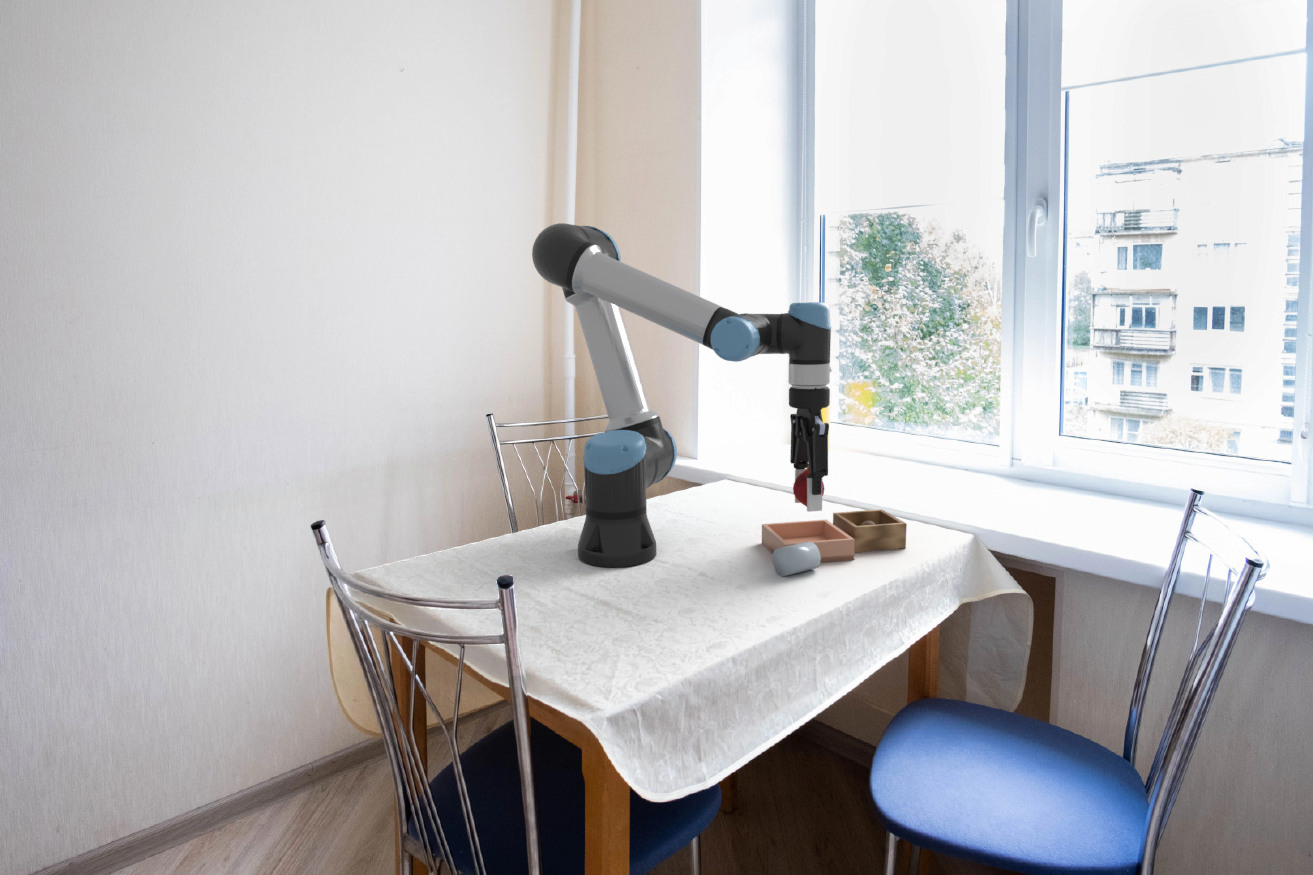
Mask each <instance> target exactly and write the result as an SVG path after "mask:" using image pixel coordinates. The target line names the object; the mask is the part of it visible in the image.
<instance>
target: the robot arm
mask: <svg viewBox="0 0 1313 875" xmlns="http://www.w3.org/2000/svg"><path fill="white" fill-rule="evenodd" d="M531 249H532V250H531V251H532V252H531V255H532V263H533V266H534V268H535V270H536V271H537V273H538V274H539V275H540V276H541V277H542V279H543V280H545V281H546V282H548V283H551V284H552V285H555V286H557V287H561V289H562V292H563V295H564V299H565V301H566V302H567V303H569V304H571V305H572V306H574V307H575V311H576V313H577V316H578V320H579V324H580V326H581V329H582V333H583V336H584V339H585V344H586V345H587V346H586V347H587V350H588V353H589V357H590V360H591V363H592V366H593V367H592V368H593V370H594V372H595V376H596V379H597V383H598V387H599V390H600V393H601V394H600V395H601V397H602V400H603V403H604V407H605V411H606V414H607V417H608V422H607V424H606V426H605V428H604V432H599V433H595V434H594V435H592V436H591V437H589V438H588V439H587V440H586V442H585V443H584V446H583V447H584V448H583V449H584V450H583V451H584V452H583V458H582V462H583V470H584V471H583V473H584V496H585V520H584V523H583V527H582V530H581V533H580V537H579V540H578V544H577V557H578V559H579V561H581V562H583V563H585V564H587V565H591V566H595V565H596V567H601V568H603V567H604V568H622V567H623V568H624V567H632V566H637V565H642V564H645V563H647V562H650V561H651V560H653V559H655V557H656V556H657V541H656V538H655V536H654V532H653V530H652V527H651V524H650V521H649V519H648V515H647V489H648V488H650V487H651V486H652V485H653V486H654V485H655V484H658V483H659V482H660V481H663V480H664V479H665V478H666V477H667V476H668V475H669V473H670V472H671V471H672V469H673V468H674V466H675V464H676V462H677V455H678V451H677V443H676V441H675V439H674V437H673V435H672V433H670V432H669V431H668V430H666V429H665V428H664V427H663V422H662V421H661V416H660V414H659V413H658V412H656V411H655V410H652V409H651V408H650V406H649V401H648V399H647V395H646V391H645V389H644V384H643V382H642V377H641V374H640V372H639V368H638V365H637V362H636V358H635V355H634V352H633V349H632V344H631V340H630V337H629V334H628V331H627V326H626V325H625V320H624V317H623V314H622V311H621V309H623V310H625V311H627V312H630V313H632V314H634V315H636V316H638V317H640V318H642V319H645V320H647V321H649V322H651V323H654V324H656V325H658V326H661V327H662V328H665V329H666V330H669V331H672V332H673V333H677V334H679V335H680V336H682V337H684V338H687V339H690V340H692V341H694V342H695V343H697V344H700V345H702V346H705V347H706V348H708V349H710V350H712V351H714V353H715V354H716V355H717V356H718V357H719V358H720V359H722V360H724V361H728V362H742V361H746V360H748V359H749V358H751V357H755V356H757V355H774V354H775V355H787V354H788V358H789V359H788V384H789V385H791V386H790V387H789V388H788V405H789V407H790V408H793V409H796V413H791V414H790V417H789V419H790V426H791V428H790V459H789V460H790V464H793V468H794V469H795V470H794V481H795V480H796V478H797V477H798V476H799V475H800V474H801V473H802V472H804V471H805V470H806V468H807V467H809V475H806V478H807V507H806V512H822V511H823V496H822V481H823V478H824V477H827V476H829V439H828V438H829V429H830V428H829V427H830V423H828V422H823V417H822V416H823V415H822V410H823V409H826V408H828V407H830V403H831V400H830V398H831V390H830V388H829V387H828V386H827V385H829V384H830V383H831V382H830V377H831V373H832V371H833V368H832V367H831V341H832V340H831V338H832V337H831V336H832V334H831V333H832V332H831V331H832V326H831V308H830V305H829V304H827V303H826V302H822V301H819V302H814V301H813V302H808V301H807V302H793V303H791V304H789V308H788V311H787V312H785V313H746V312H745V313H737V312H735V311H733V310H731V309H728V308H726V307H723V306H721V305H719V304H717V303H715V302H712V301H711V300H708V299H705V298H703V297H702V296H699V295H696V294H694V293H692V292H690V291H688V290H686V289H683V288H680V287H678V286H676V285H674V284H672V283H670V282H667V281H665V280H663V279H660V278H658V277H655V276H653V275H652V274H649V273H647V272H645V271H642V270H640V269H638V268H636V267H633V266H631V265H629V264H626V263H624V262H622V261H621V253H620V249H619V247H618V244H617V243H616V241H615V240H614V238H613V237H612V236H611V235H609V233H607V232H605V231H603V230H602V229H599V228H597V227H596V226H589V225H576V224H570V223H564V222H563V223H556V224H551V225H549V226H547V227H546V228H544V229H543V230H541V231H540V233H539V234H538V235H537V236H536V238H535V239H534V243H533V245H532V248H531ZM794 503H796V504H802V503H801V502H799V501H798V500H797V499H796V497H795V496H794Z"/></svg>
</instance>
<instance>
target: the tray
mask: <svg viewBox="0 0 1313 875" xmlns="http://www.w3.org/2000/svg"><path fill="white" fill-rule="evenodd" d="M809 541H810V542H813V543H814V544H815V545H816V546H817V548H818V549H819V552H820V557H821V560H820V564H821V563H831V562H843V561H854V560H855V552H854V546H855V539H853V538H852V537H851V536H849V535H848V534H846V533H845V532H843V531H842V530H841V529H839V528H838V527H836V526H835V525H833V522H831V521H829V520H827V519H816V520H802V521H801V520H799V521H790V522H789V521H788V522H786V521H785V522H772V523H762V524H761V544H762V546H764V547H765V548H766V549H767V551H769V552H770V553H771V554H772V555H773V552H774V550H775V549H777V548H781V547H786V546H790V545H795V544H799V543H804V542H809Z"/></svg>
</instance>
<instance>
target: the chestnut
mask: <svg viewBox="0 0 1313 875" xmlns="http://www.w3.org/2000/svg"><path fill="white" fill-rule="evenodd" d="M864 525H876V524H875V523H874V522H872V521H864V522H863V523H862V524H861V525H860V526H864Z"/></svg>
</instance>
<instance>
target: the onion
mask: <svg viewBox="0 0 1313 875" xmlns="http://www.w3.org/2000/svg"><path fill="white" fill-rule="evenodd" d="M805 469H806V470H805V471H804V472H802V473H801V474H800V475H799V476H798V477H797V478H796V480H795V479H794V482H793V488H792V490H793V495H794V498H795V497H796V499H797V500H798V501H799V502H801V503H800V504H802V505H803V506H805V507H806V508H807V478H806V475H809V467H807V468H805ZM824 492H825V484H824V481H823V480H822V497H823V496H824V495H825V494H824Z"/></svg>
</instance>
